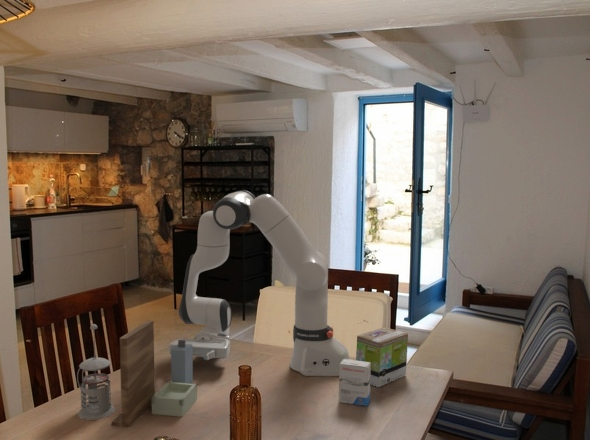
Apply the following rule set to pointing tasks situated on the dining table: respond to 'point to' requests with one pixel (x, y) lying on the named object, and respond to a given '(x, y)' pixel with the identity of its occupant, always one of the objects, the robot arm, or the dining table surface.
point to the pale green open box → (174, 399)
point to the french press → (95, 389)
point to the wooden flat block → (136, 373)
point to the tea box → (383, 354)
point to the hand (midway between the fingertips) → (191, 356)
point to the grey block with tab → (182, 363)
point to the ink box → (354, 382)
